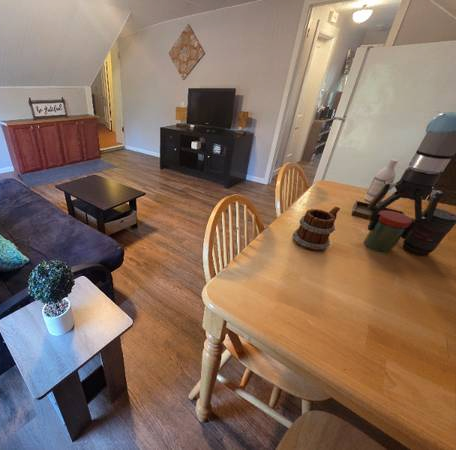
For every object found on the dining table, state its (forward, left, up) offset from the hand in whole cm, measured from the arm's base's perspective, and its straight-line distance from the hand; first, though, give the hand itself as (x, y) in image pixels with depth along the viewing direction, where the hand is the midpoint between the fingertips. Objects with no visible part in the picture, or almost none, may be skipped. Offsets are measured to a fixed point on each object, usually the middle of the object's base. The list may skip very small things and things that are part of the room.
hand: (385, 232), depth 85 cm
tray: (+1, -28, -6) cm, 29 cm away
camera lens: (-10, -5, -6) cm, 13 cm away
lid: (0, 0, +6) cm, 6 cm away
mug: (+19, +12, -6) cm, 23 cm away
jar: (0, 0, -6) cm, 6 cm away
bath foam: (+3, -46, -6) cm, 47 cm away
